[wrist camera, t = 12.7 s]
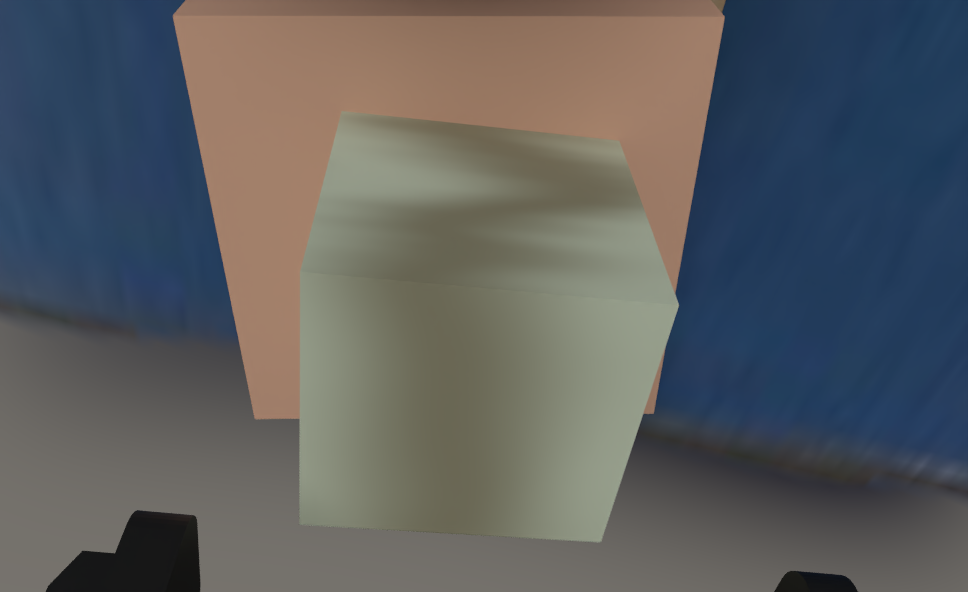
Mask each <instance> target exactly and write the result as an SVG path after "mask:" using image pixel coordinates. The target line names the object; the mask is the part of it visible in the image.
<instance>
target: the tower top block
mask: <svg viewBox="0 0 968 592" xmlns="http://www.w3.org/2000/svg"><path fill="white" fill-rule="evenodd" d="M724 18H725V16H724V15H723V14H722V13H721V12H720V10H719V9H718V8H717V7H716V6H715V4H714V3H713V2H712V1H711V0H185V2H184V3H183V4H182V5H181V6H180V8H179V9H178V10H177V11H176V12H175V14H174V15H173V19H174V24H175V29H176V34H177V39H178V44H179V49H180V53H181V58H182V63H183V68H184V73H185V78H186V83H187V88H188V93H189V98H190V103H191V107H192V112H193V117H194V122H195V127H196V132H197V137H198V142H199V147H200V152H201V157H202V162H203V166H204V171H205V176H206V181H207V186H208V191H209V196H210V201H211V206H212V211H213V216H214V221H215V225H216V230H217V235H218V240H219V245H220V250H221V255H222V260H223V265H224V270H225V275H226V280H227V284H228V289H229V294H230V299H231V304H232V309H233V314H234V319H235V324H236V329H237V334H238V338H239V343H240V348H241V353H242V358H243V363H244V368H245V373H246V377H247V383H248V387H249V393H250V397H251V402H252V407H253V412H254V417H255V419H298V418H299V419H300V270H301V266H302V262H303V258H304V255H305V251H306V247H307V243H308V239H309V235H310V231H311V227H312V224H313V220H314V216H315V212H316V208H317V204H318V200H319V197H320V193H321V189H322V185H323V181H324V177H325V173H326V170H327V166H328V162H329V158H330V154H331V150H332V146H333V143H334V139H335V135H336V131H337V127H338V123H339V119H340V116H341V112H342V111H347V112H356V113H366V114H375V115H384V116H394V117H403V118H413V119H422V120H431V121H441V122H450V123H460V124H469V125H478V126H487V127H497V128H506V129H515V130H525V131H534V132H543V133H553V134H562V135H571V136H580V137H590V138H599V139H608V140H618V141H620V144H621V147H622V150H623V152H624V155H625V158H626V161H627V163H628V166H629V169H630V172H631V174H632V177H633V180H634V183H635V185H636V188H637V191H638V194H639V196H640V199H641V202H642V205H643V207H644V210H645V213H646V216H647V218H648V221H649V224H650V227H651V229H652V232H653V235H654V238H655V241H656V243H657V246H658V249H659V252H660V254H661V257H662V260H663V263H664V265H665V268H666V271H667V274H668V276H669V279H670V282H671V285H672V287H673V290H674V293H675V291H676V286H677V280H678V275H679V269H680V263H681V258H682V252H683V247H684V241H685V236H686V230H687V224H688V219H689V213H690V208H691V202H692V197H693V191H694V185H695V180H696V174H697V169H698V163H699V158H700V152H701V146H702V141H703V135H704V130H705V124H706V119H707V113H708V107H709V102H710V96H711V91H712V85H713V80H714V74H715V68H716V63H717V57H718V52H719V46H720V41H721V35H722V29H723V24H724ZM665 347H666V346H665ZM664 352H665V349H664ZM664 352H663V355H662V358H661V361H660V364H659V367H658V370H657V373H656V376H655V380H654V383H653V386H652V389H651V392H650V395H649V398H648V401H647V404H646V407H645V410H644V413H643V414H654V408H655V403H656V397H657V391H658V386H659V380H660V375H661V369H662V364H663V358H664Z"/></svg>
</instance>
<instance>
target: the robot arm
mask: <svg viewBox="0 0 968 592" xmlns="http://www.w3.org/2000/svg"><path fill="white" fill-rule="evenodd" d="M199 568H200V567H199V549H198V530H197V519H196V517H195V516H194V515H184V514H172V513H161V512H149V511H139V510H137V511H135V512H134V513H133V514H132V515H131V517H130V519H129V521H128V523H127V525H126V528H125V530H124V533H123V535H122V538H121V540H120V542H119V545H118V548H117V550H116V553H115V554H114V553H102V552H91V551H82V552H81V553H80V554H79V555H78V556H77V557H76V558H75V559H74V560H73V561H72V562H71V563H70V564H69V565H68V566H67V567H66V568H65V569H64V570H63V571H62V572H61V574H60V575H59V576H58V577H57V578H56V579H55V580H54V581H53V582H52V583H51V584H50V585H49V586H48V588H47V590H46V592H200V569H199ZM774 592H858V591H857V589H856V587H855V586H854V584H853V583H852V582H851V580H850V579H848V578H847V577H845V576H842V575H834V574H823V573H811V572H799V571H790V572H787V573H786V574H785V575H784V577H783V578H782V580H781V581H780V583H779V585H778V586H777V588H776V590H775V591H774Z"/></svg>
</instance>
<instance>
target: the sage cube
mask: <svg viewBox="0 0 968 592" xmlns="http://www.w3.org/2000/svg"><path fill="white" fill-rule="evenodd" d="M678 307H679V304H678V301H677V298H676V296H675V293H674V290H673V287H672V285H671V282H670V279H669V276H668V274H667V271H666V268H665V265H664V263H663V260H662V257H661V254H660V252H659V249H658V246H657V243H656V241H655V238H654V235H653V232H652V229H651V227H650V224H649V221H648V218H647V216H646V213H645V210H644V207H643V205H642V202H641V199H640V196H639V194H638V191H637V188H636V185H635V183H634V180H633V177H632V174H631V172H630V169H629V166H628V163H627V161H626V158H625V155H624V152H623V150H622V147H621V144H620V141H618V140H608V139H599V138H590V137H580V136H571V135H562V134H553V133H543V132H534V131H525V130H515V129H506V128H497V127H487V126H478V125H469V124H460V123H450V122H441V121H431V120H422V119H413V118H403V117H394V116H384V115H375V114H366V113H356V112H347V111H342V112H341V116H340V119H339V123H338V127H337V131H336V135H335V139H334V143H333V146H332V150H331V154H330V158H329V162H328V166H327V170H326V173H325V177H324V181H323V185H322V189H321V193H320V197H319V200H318V204H317V208H316V212H315V216H314V220H313V224H312V227H311V231H310V235H309V239H308V243H307V247H306V251H305V255H304V258H303V262H302V266H301V270H300V525H315V526H331V527H348V528H365V529H382V530H399V531H416V532H433V533H434V532H435V533H451V534H468V535H485V536H502V537H519V538H537V539H554V540H570V541H571V540H572V541H588V542H601V540H602V537H603V534H604V531H605V528H606V525H607V522H608V519H609V516H610V513H611V509H612V507H613V503H614V501H615V498H616V495H617V491H618V489H619V485H620V482H621V480H622V476H623V473H624V470H625V467H626V464H627V461H628V458H629V455H630V452H631V449H632V446H633V443H634V440H635V437H636V434H637V431H638V428H639V425H640V422H641V419H642V416H643V413H644V410H645V407H646V404H647V401H648V398H649V395H650V392H651V389H652V386H653V383H654V380H655V376H656V373H657V370H658V367H659V364H660V361H661V358H662V355H663V352H664V349H665V346H666V343H667V340H668V337H669V334H670V331H671V328H672V325H673V322H674V319H675V316H676V313H677V310H678Z"/></svg>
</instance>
